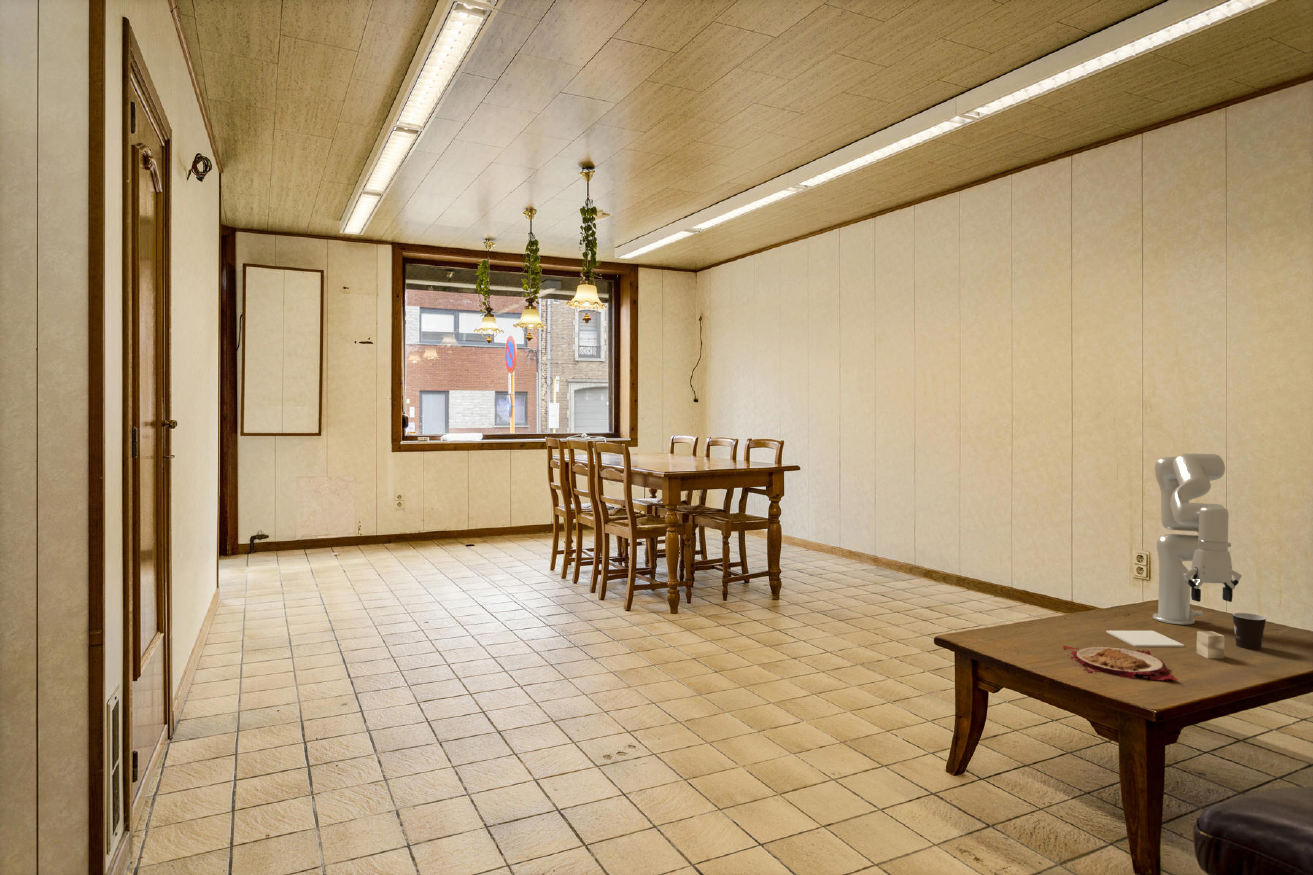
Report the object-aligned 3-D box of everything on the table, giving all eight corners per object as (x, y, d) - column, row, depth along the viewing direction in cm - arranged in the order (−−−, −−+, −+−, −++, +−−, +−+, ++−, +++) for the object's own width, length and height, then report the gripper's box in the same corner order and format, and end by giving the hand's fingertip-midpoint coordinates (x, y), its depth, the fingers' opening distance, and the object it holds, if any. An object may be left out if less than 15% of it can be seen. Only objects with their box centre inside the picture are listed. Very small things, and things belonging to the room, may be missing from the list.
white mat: (1152, 632, 265) (1152, 630, 265) (1184, 646, 249) (1184, 644, 249) (1106, 632, 266) (1106, 630, 266) (1134, 646, 250) (1134, 644, 250)
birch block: (1212, 653, 243) (1212, 631, 243) (1223, 658, 238) (1224, 636, 238) (1196, 653, 243) (1197, 631, 243) (1207, 658, 238) (1208, 636, 238)
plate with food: (1149, 657, 242) (1149, 645, 242) (1177, 683, 217) (1177, 671, 216) (1062, 650, 249) (1062, 639, 249) (1080, 675, 224) (1080, 663, 224)
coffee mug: (1260, 652, 243) (1260, 621, 243) (1227, 645, 250) (1228, 615, 250) (1272, 645, 250) (1273, 615, 250) (1240, 639, 257) (1241, 609, 257)
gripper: (1231, 544, 243) (1230, 598, 243) (1176, 544, 243) (1175, 597, 243) (1249, 548, 235) (1248, 603, 236) (1193, 548, 235) (1192, 603, 236)
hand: (1211, 600), depth 240 cm, fingers open, 9 cm apart
